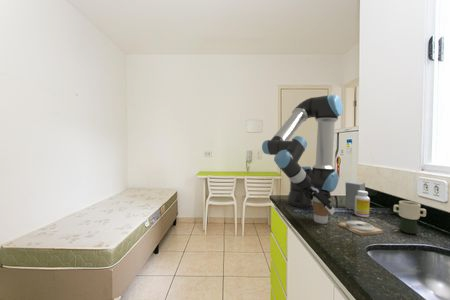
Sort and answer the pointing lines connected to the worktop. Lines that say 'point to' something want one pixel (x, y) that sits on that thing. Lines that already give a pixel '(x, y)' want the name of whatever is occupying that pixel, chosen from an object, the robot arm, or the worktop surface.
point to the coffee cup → (320, 208)
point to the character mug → (409, 215)
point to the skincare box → (353, 192)
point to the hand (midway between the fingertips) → (326, 209)
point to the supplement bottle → (362, 204)
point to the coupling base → (360, 227)
